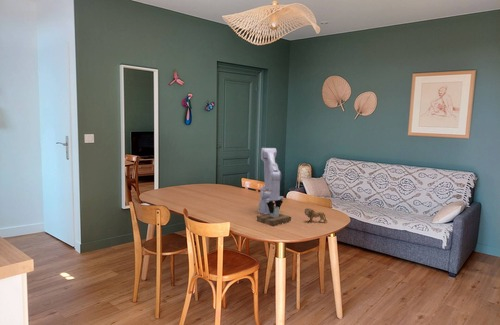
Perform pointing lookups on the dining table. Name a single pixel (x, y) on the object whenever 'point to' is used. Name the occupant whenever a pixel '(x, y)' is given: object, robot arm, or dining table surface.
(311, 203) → the dining table surface
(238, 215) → the dining table surface
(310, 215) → the lion figurine
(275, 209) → the grey block
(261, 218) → the walnut plinth
